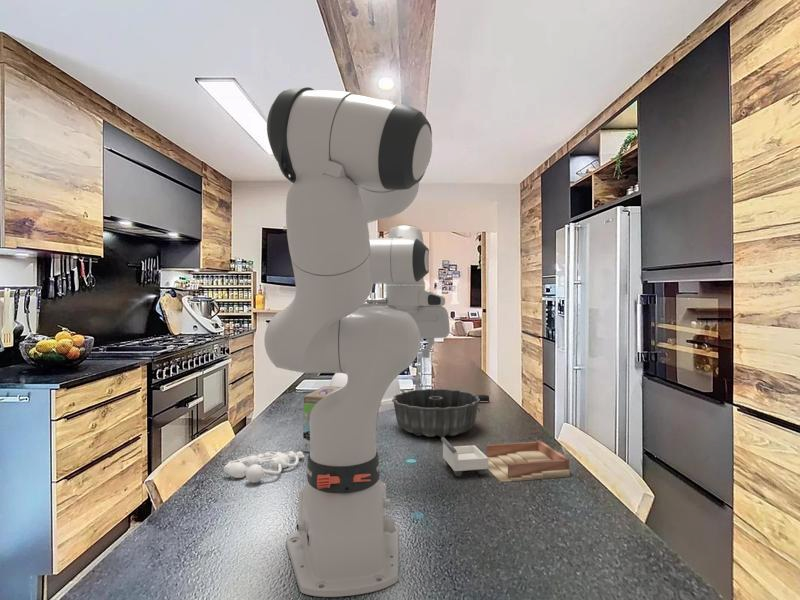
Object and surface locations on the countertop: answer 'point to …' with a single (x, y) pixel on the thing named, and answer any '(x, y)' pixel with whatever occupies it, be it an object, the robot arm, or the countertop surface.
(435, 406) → the bundt pan
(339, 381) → the dome cover
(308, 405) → the tea box
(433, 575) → the countertop surface
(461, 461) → the white tray with rod
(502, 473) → the dock
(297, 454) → the tangled rod sculpture
